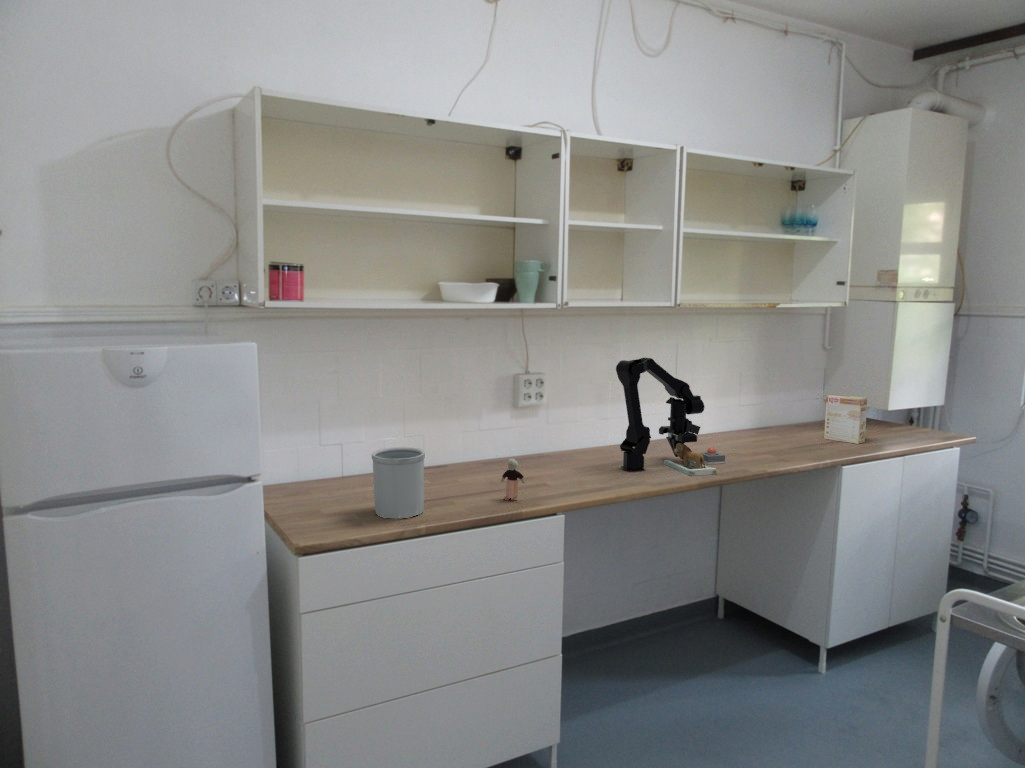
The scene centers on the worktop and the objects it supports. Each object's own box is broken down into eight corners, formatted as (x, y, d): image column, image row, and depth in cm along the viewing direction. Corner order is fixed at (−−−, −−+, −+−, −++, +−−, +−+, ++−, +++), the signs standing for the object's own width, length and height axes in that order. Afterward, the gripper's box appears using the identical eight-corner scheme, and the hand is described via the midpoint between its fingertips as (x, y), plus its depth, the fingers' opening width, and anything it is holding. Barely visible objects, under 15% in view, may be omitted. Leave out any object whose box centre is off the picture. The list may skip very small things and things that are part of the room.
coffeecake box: (865, 442, 312) (868, 397, 310) (858, 444, 308) (861, 398, 305) (830, 437, 323) (833, 393, 321) (823, 439, 319) (825, 395, 316)
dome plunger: (710, 459, 271) (710, 448, 270) (705, 457, 274) (705, 446, 273) (717, 458, 272) (718, 448, 271) (712, 456, 275) (713, 446, 274)
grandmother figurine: (499, 500, 219) (499, 459, 218) (501, 497, 223) (501, 457, 221) (524, 501, 218) (524, 460, 216) (525, 498, 222) (526, 457, 220)
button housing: (708, 464, 269) (708, 456, 268) (698, 460, 275) (698, 452, 275) (724, 463, 271) (725, 455, 270) (714, 459, 277) (714, 451, 277)
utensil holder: (409, 523, 197) (408, 460, 195) (362, 516, 202) (361, 455, 200) (434, 508, 211) (434, 449, 209) (390, 503, 216) (389, 445, 214)
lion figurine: (670, 467, 264) (671, 443, 263) (679, 465, 267) (680, 441, 266) (705, 474, 253) (706, 449, 252) (714, 472, 256) (715, 447, 255)
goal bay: (690, 476, 251) (691, 470, 251) (664, 464, 269) (664, 458, 269) (716, 474, 254) (716, 468, 253) (688, 462, 272) (688, 457, 271)
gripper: (711, 418, 261) (709, 460, 263) (684, 410, 279) (683, 450, 281) (683, 419, 258) (682, 462, 260) (658, 411, 276) (657, 452, 278)
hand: (676, 456), depth 270 cm, fingers closed
